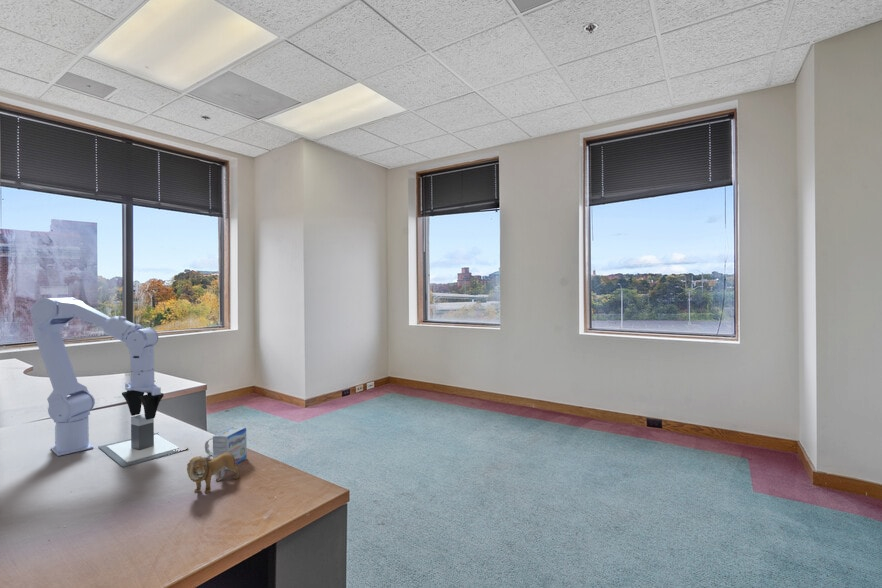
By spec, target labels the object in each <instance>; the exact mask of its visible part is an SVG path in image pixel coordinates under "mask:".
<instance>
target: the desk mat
mask: <svg viewBox="0 0 882 588" xmlns="http://www.w3.org/2000/svg"><path fill="white" fill-rule="evenodd" d="M158 433H159V432H156V433H155V432H154V446H152V447H149V448H146V449H142V450H136V449H133V448H131V438H129V439H124V440H120V441H116V442H113V443H108V444H104V445H98V446H97V448H98V449H99V450H101V452H103V453H104V454H105V455H107V456H108V457H109V458H110V459H111V460H113V461H114V462H115V464H118V465H119V466H120V468H126V467H129V466H134V465H137V464H141V463H145V462H148V461H152V460H155V458H156V459H159V458H162V457H161V456H163V457H166V456H165V455H167V456H169V455H168V454H170V455H172V454H171V453H174V452H178V450H177V451H176V449H179V448H180V447H178V446H176V445H175V444H173V443H171V442H170V441H168V440H166V439H164V438H163V437H161V436H159V434H158ZM173 450H175V451H173ZM180 451H181V450H180ZM181 452H182V451H181ZM178 453H179V452H178ZM174 454H175V453H174ZM158 457H159V458H158Z"/></svg>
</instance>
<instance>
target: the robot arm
mask: <svg viewBox="0 0 882 588" xmlns="http://www.w3.org/2000/svg"><path fill="white" fill-rule="evenodd" d="M29 313H30V315H31V318H32V332H33V333H32V334H33V336H34V339H35V342H36V344H37V347H38V350H39V353H40V356H41V358H42V362H43V364H44V367H45V369H46V373H47V375H48V378H49V381H50V383H51V387H52V389H53V390H52V391H51V393H50V394H49V395H48V397H47V404H48V407H47V408H48V409H47V413H48V415H49V417H50V419H51V420H53V423H55V426H54V445H52V446H50V449H51V450H52V451H53V453H54V454H55V455H56V456H57V457H60V456H64V455H68V454H69V455H70V454H73V453H77V452H82V451H85V450H91V449H94V445H93V444H92V443H90V438H89V435H90V433H89V431H90V430H89V429H90V427H89V425H90V424H89V423H90V422H89V420H90V419H89V416H90V415H91V411H92V410H93V409H94V407H95V404H96V401H95V397H94V396H93V395H92V394H91V393H90V391H89V389H88V387H87V386H86V385H84V384H82V383H80V382H78V379H77V376H76V373H75V370H74V368H73V365H72V362H71V360H70V359H71V358H70V356H69V353H68V351H67V348H66V345H65V342H64V340H63V337H62V334H61V332H62V330H63V329H64V327H65V326H66V325H67V324H69V323H70V322H72V320H74V319H75V318H77V319H80V320H82V321H85V322H88V323H90V324H92V325H95V326H98V327H100V328H103V332H104V334H105V335H107V336H110V337H112V338H114V339H116V340H119V341H121V342H123V343H125V346H126V347H127V349H128V352H129V355H130V356H129V357H130V358H129V361H130V363H129V364H130V365H129V366H130V368H129V369H130V372H129V373H130V375H129V377H130V382H125V383H124V384H125V389H124V390H126V391H124V392H123V391H122V392H121V396H122V397H123V398H124V400H125V402H126V404H127V407H128V411H129V413H130V416H131V417H133V416H137V415H141V411H142V406H143V414H145V418H146V420H148V419H152V418H154V419H155V418H156V415H157V410H158V407H159V405H160V403H161V401H162V399H163V398H164V393H162V392H161V390H162V389H161V387H160V386H158V385H157V383H155V345H157V343H158V341H159V334H158V332H157V330H155V329H153V327H147V326H146V327H143V326H142V324H139V323H134V322H131V321H130V320H128V319H127V317H126V316H123V315H121V316H117V315H116V316H112V317H110V316H109V315H108V314H105V313H103V312H102V311H100V310H98V309H96V308H94V307H91V306H90V305H88V304H86V303H85V302H84V301H82V300H81V299H77V298H76V297H72V296H66V297H49V298H48V297H40V298H39V299H37V300H36V301H35V302H34V303H33V305H32V306H31V308H30V309H29ZM145 393H146V394H145Z"/></svg>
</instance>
